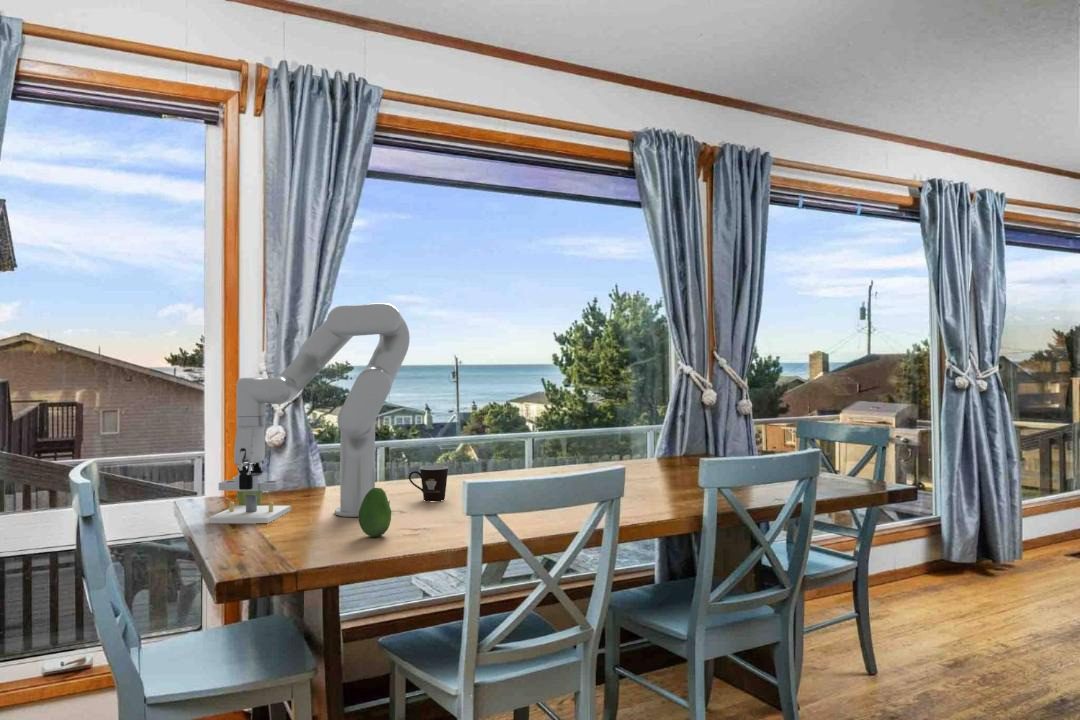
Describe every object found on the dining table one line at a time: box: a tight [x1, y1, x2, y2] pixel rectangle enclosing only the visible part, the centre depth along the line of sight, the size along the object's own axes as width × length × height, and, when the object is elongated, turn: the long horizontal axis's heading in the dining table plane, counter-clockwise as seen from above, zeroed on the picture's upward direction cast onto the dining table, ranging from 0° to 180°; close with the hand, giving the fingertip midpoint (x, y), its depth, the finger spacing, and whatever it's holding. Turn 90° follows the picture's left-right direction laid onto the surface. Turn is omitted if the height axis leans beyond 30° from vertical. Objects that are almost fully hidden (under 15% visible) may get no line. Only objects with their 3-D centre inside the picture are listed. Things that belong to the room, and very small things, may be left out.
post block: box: [208, 494, 292, 524], centre depth 202 cm, size 16×16×6 cm
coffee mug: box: [408, 465, 449, 502], centre depth 227 cm, size 12×9×10 cm
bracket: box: [218, 472, 284, 492], centre depth 202 cm, size 16×6×4 cm, turn 88°
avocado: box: [358, 487, 392, 538], centre depth 180 cm, size 8×8×12 cm
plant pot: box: [232, 476, 264, 506], centre depth 217 cm, size 9×9×9 cm
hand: (251, 486), depth 202 cm, fingers closed on bracket, 6 cm apart
